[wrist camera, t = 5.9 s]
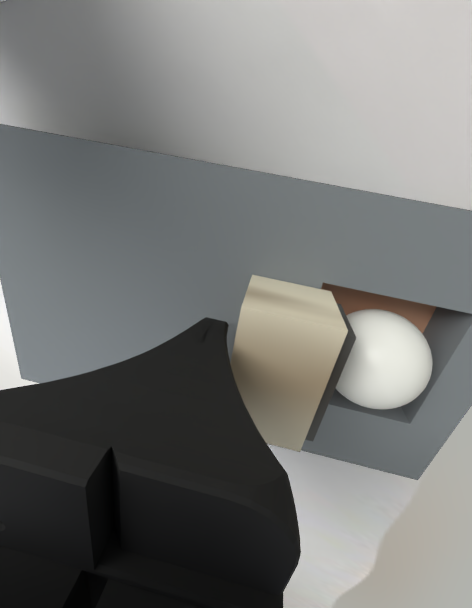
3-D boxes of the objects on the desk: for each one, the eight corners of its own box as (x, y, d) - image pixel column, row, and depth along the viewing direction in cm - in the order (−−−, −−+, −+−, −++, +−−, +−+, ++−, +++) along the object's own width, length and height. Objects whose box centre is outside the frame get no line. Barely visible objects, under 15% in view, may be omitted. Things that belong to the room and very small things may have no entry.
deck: (398, 436, 16) (417, 480, 13) (55, 352, 17) (21, 378, 15) (528, 222, 11) (594, 233, 8) (25, 129, 12) (-34, 117, 10)
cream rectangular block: (305, 394, 12) (311, 454, 10) (231, 376, 13) (217, 430, 10) (342, 293, 10) (362, 334, 8) (252, 274, 10) (241, 306, 8)
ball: (315, 418, 11) (307, 357, 14) (422, 444, 10) (386, 375, 14) (352, 328, 9) (331, 286, 12) (481, 357, 9) (422, 305, 12)
